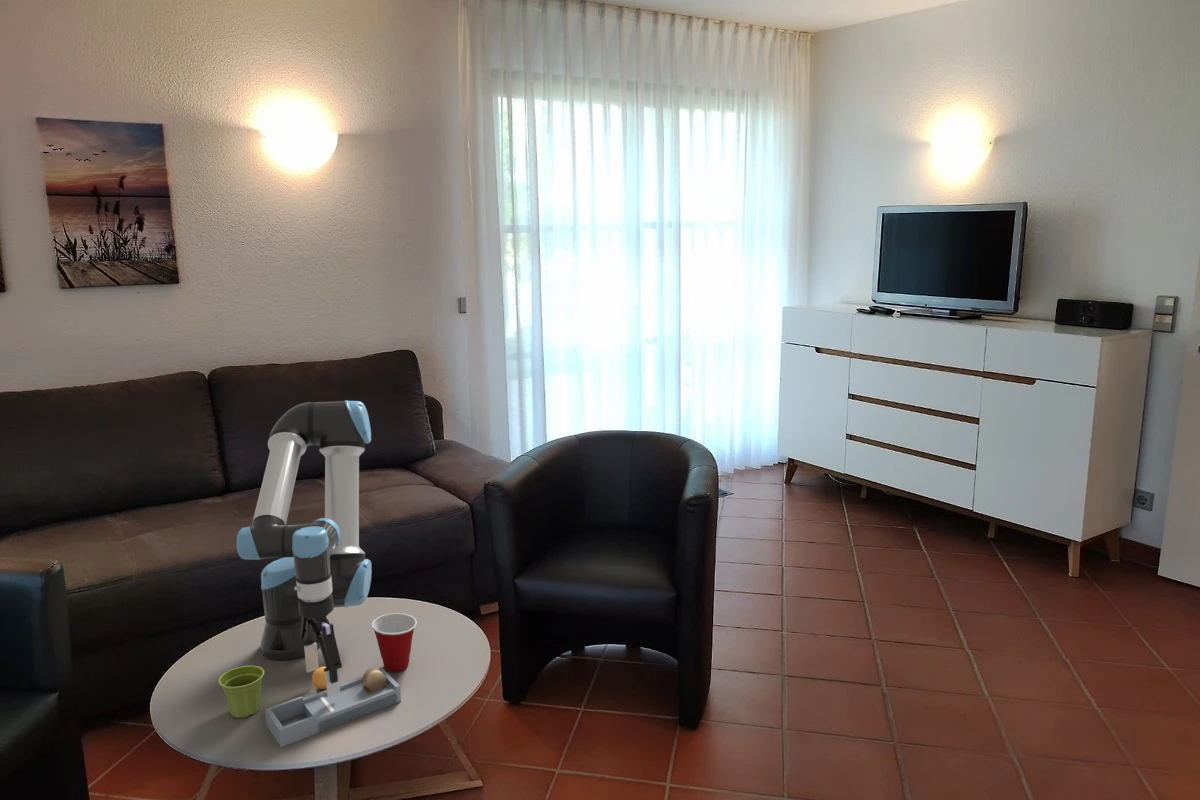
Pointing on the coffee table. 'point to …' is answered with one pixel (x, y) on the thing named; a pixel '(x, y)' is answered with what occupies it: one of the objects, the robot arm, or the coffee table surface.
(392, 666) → the plastic cup
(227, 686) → the plant pot
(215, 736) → the coffee table surface
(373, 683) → the block
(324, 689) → the small wooden crate
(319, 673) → the ball
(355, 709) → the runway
